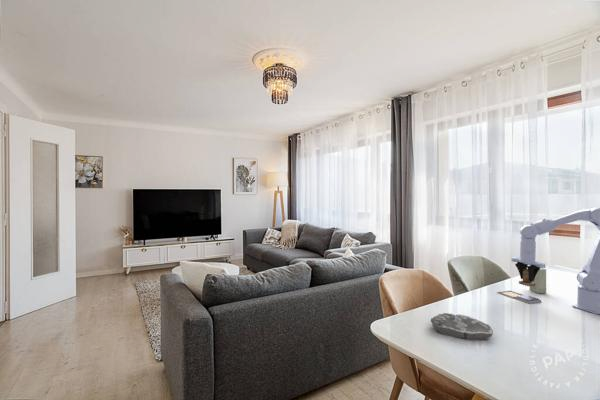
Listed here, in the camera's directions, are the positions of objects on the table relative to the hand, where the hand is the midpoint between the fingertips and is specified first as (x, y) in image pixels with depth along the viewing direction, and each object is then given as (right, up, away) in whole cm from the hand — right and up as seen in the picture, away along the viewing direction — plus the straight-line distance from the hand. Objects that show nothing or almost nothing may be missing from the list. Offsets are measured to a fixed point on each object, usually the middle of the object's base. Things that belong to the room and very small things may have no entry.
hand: (527, 279), depth 143 cm
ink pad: (0, -9, 0) cm, 9 cm away
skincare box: (+15, -10, +13) cm, 22 cm away
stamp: (0, -2, 0) cm, 2 cm away
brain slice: (-49, -10, -33) cm, 60 cm away
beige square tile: (-2, -9, +7) cm, 12 cm away
